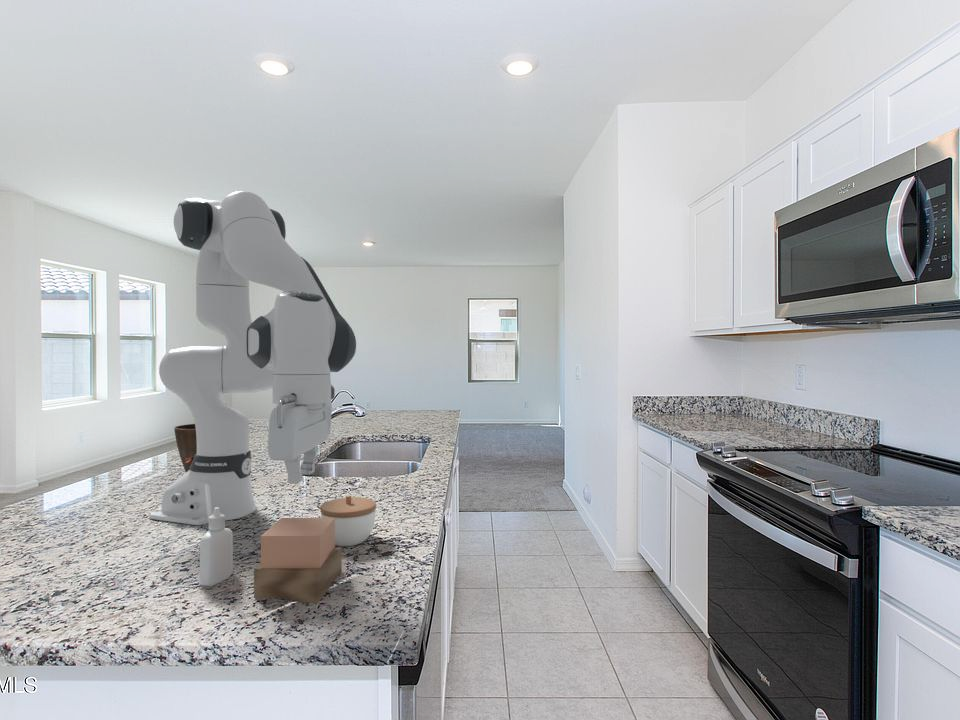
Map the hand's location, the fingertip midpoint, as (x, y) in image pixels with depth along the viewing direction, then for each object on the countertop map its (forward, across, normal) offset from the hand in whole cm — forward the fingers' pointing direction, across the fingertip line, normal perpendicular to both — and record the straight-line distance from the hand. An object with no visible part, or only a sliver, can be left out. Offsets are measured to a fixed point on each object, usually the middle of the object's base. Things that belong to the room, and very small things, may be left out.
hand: (301, 478), depth 85 cm
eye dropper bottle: (+18, +3, +15) cm, 23 cm away
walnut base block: (+18, 0, 0) cm, 18 cm away
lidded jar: (+18, +20, -3) cm, 27 cm away
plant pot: (+17, +74, +53) cm, 92 cm away
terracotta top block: (+13, 0, 0) cm, 13 cm away
